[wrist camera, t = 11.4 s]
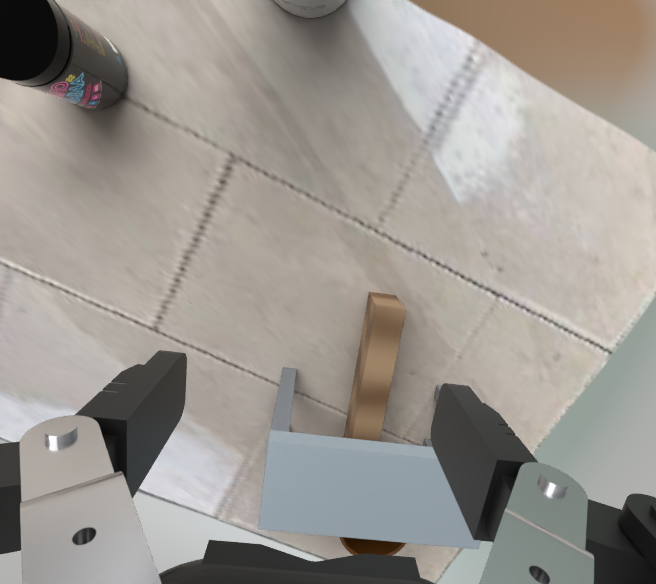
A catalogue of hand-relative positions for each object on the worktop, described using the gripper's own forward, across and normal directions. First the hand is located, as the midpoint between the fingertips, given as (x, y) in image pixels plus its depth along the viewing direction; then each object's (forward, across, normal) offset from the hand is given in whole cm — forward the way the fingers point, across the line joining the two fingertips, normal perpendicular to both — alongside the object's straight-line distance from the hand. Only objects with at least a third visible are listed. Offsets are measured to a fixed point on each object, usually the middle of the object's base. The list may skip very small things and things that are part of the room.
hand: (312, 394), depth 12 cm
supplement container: (+30, +23, -14) cm, 40 cm away
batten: (+30, -8, +14) cm, 34 cm away
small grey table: (+30, -8, +19) cm, 36 cm away
